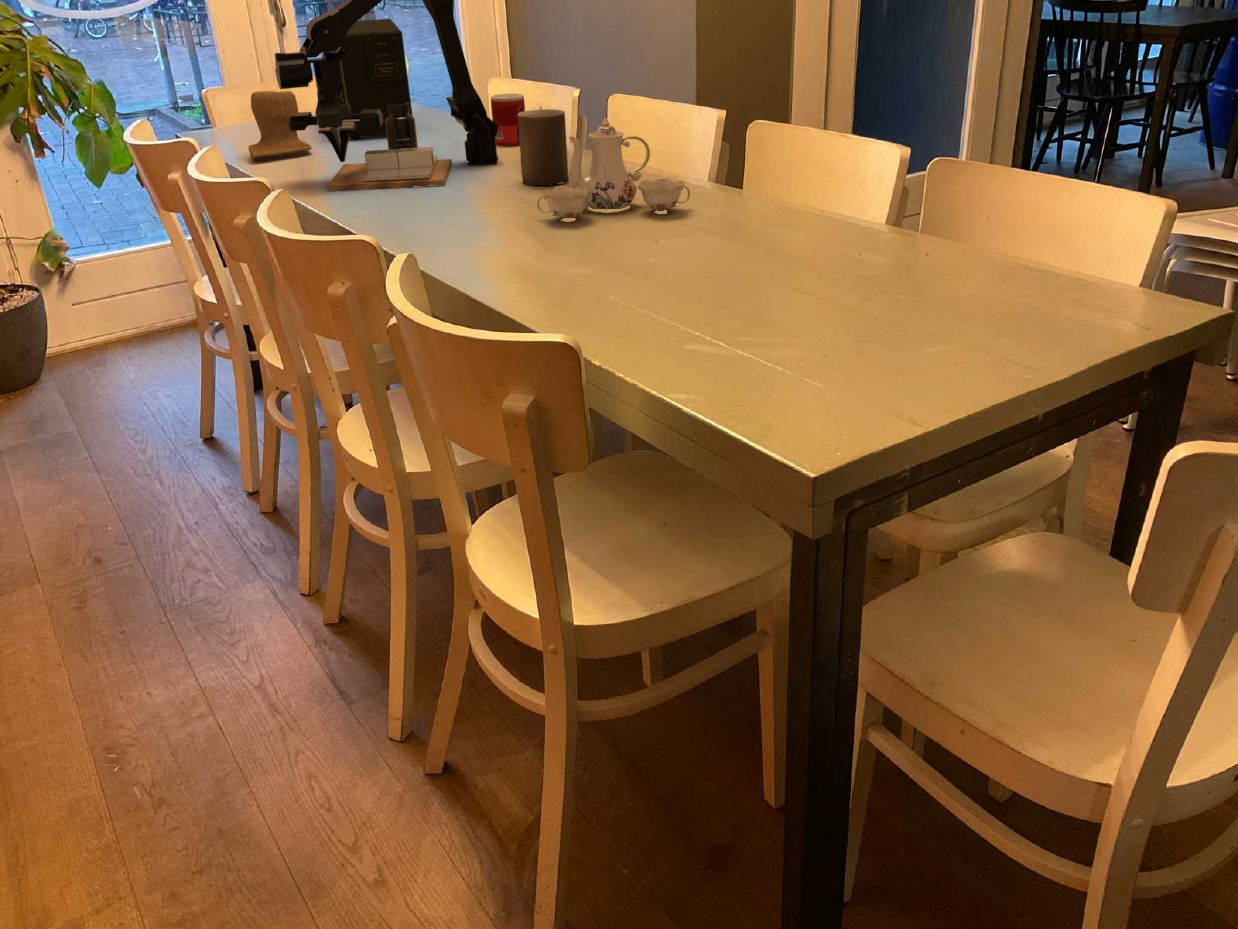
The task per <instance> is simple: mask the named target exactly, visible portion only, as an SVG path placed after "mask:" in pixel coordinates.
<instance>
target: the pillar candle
mask: <svg viewBox="0 0 1238 929" xmlns="http://www.w3.org/2000/svg"><path fill="white" fill-rule="evenodd" d="M518 125H519V140H520V146H519V151H520V153H519V154H520V166H521V180H522V183H523V184H525V185H530V186H533V185H549V186H556V185H555V184H558V183H561V182H565V183H567V182H569V165H568V163H569V162H568V147H567V129H566V113H565V111H564V110H561V109H556V108H555V109H551V108H550V109H549V108H548V109H542V106H539V109H533V110H525V111H524V112H519V113H518ZM558 185H559V184H558Z"/></svg>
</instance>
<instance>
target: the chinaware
mask: <svg viewBox="0 0 1238 929" xmlns="http://www.w3.org/2000/svg"><path fill="white" fill-rule="evenodd" d="M610 124H611V122H609V120H608V118H604V119H603V121H602V122H601V126H599V127H598V128H596V131H594V132H590V134H588V137H589V139H590V143H591V151H592V152H591V153H592V154H591V165H590V169H589V174H588V175H587V176H586V177H583V175H582V161H583V160H582V158H583V147H582V144H581V141H580V140H579V139H577V137H575V136H570V137H569V138H568V140H569V141H570V142H571V143H572V144H573V153H572V158H571V161H570V162H571V163H570V165H569V169H568V184H569V186H567V185H560V186H559V185H558V186H556V187H554V188H553V189H552V190H549V189H546V190H543V191H542V195H541V196H539V197H538V199H537V202H536V205H537V208H538V210H539V211H540V212H541V213H543V214H548V213H552V216H556V217H558V218H560V219H561V218H574V217H575V218H577V217H578V216H580V215H581V214H582V213H583V211H584V210H585V208H586V206H588V207H590V208H592V209H605V210H607V209H622V208H625V207H627V206H630V205H631V203H632V202H633V201H634V199H635V197H636V194H637V191H638V190H639V191H640V192H641V196H642V198H643V201H644V203H645V204H646V205H647V206H648V207H649V208H650V209H651V210H653V211H655V210H657V211H664V210H668V211H670V209H672V208H673V207H677V205H676V204H678V203H679V204H684V203H686V202H687V201H688V200H689V198H690V195H691V191H690V189H689V188H688V187H687V186H686V185H685V182H684V181H683V180H676V181H674V180H672V179H670V178H668V177H667V178H665V177H663V178H658V179H657V178H656V180H653V181H652V180H651V181H650V180H641V178H642V173H641V172H640V171H641V170H642V169H644V168H645V167H646V166H647V164H648V163H649V160H650V156H651V150H650V147H649V144H648V142H646V141H645V139H643V138H642V137H640V136H638V135H636V136H635V135H632V136H631V135H629V136H625V137H623V136H624V132H621V131H617V130H616V128H615V127H614V126H613V125H610ZM629 140H637V141H638V142H641V143H642V144H643V145H644V148H645V150H646V151H645V152H646V155H645V159H644V161H643V162H642V163H641V165H640V166H638V167H636V168H634V169H632V170H630V171H627V169H626V167H625V163H624V160H623V154H622V152H623V151H622V146H624V147H625V148H629V147H630V146H631V143H630V141H629ZM632 173H633V174H632ZM640 180H641V181H640ZM638 181H640V182H639V185H637V186H636V184H635V182H638ZM684 188H685V189H686V191H687V197H686V199H684V200H683V201H680V198H681V193H682V191H683V190H684ZM542 198H543V200H545V201H546V202H547V204H548V207H549V210H548V211H544V210H542V208H541V207H540V200H541V199H542ZM552 216H551V217H552Z"/></svg>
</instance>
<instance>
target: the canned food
mask: <svg viewBox="0 0 1238 929" xmlns="http://www.w3.org/2000/svg"><path fill="white" fill-rule="evenodd" d="M525 105H526V104H525V96H524V95H523V94H521V93H500V94H499V93H498V94H494V95H492V96H490V106H491V116H492V118H491V120H492V121H493V122H494V123H496V124H497V125H498V131H497V135H496V146H497V147H498V146H499V147H518V146H519V147H520V140H519V125H518V113H519V112H524V111H526V106H525Z"/></svg>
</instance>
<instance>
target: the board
mask: <svg viewBox="0 0 1238 929" xmlns="http://www.w3.org/2000/svg"><path fill="white" fill-rule="evenodd" d="M452 166H453V160H452V158H449V159H448V158H446V159H438V161H437V164H436V166H435V168H434V171H433V172H432V174H431V176H430V178H419V179H399V180H378V181H362V176H363V175H364V173H365V172H366V170H367V168H366V162H364V163H363V162H362V163H358V162H357V163H343V164H342V166H341V167H340V168H339V170H338V171H337V173H336V174H335V175H334V176H333V177H332V179H331V180H330V181H329V183H328V184H327V191H328V192H340V191H341V192H344V191H363V189H367V190H383V189H384V190H385V189H399V188H398V187H408V188H414V187H413V186H428V187H430V186H429V185H445V186H446V183H445V182H447V180H448V178H447V177H449V174H450V172H451V169H450V168H452ZM449 171H450V172H449ZM446 179H447V180H446Z"/></svg>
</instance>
